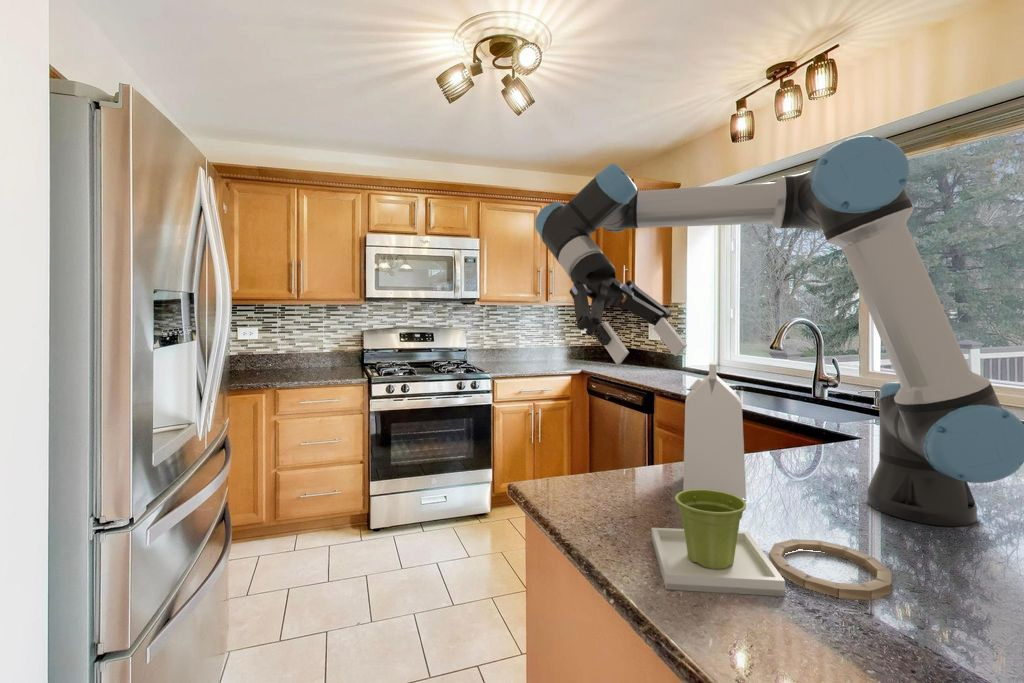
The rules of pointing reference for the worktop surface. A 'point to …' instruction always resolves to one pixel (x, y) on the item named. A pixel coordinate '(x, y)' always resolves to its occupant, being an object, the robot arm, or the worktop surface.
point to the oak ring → (840, 590)
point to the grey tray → (741, 578)
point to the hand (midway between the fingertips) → (653, 354)
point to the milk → (714, 437)
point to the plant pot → (710, 525)
